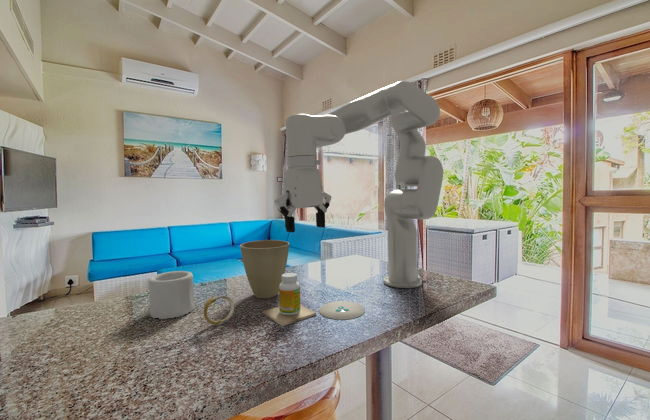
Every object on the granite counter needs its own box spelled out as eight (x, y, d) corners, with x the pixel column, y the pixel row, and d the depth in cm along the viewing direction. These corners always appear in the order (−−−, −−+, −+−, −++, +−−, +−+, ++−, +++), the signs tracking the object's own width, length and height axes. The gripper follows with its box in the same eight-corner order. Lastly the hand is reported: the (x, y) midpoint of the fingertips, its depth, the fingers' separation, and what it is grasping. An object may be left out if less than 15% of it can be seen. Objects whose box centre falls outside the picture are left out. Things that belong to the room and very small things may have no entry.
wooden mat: (295, 304, 86) (294, 302, 86) (316, 314, 78) (316, 312, 78) (262, 313, 80) (262, 311, 80) (282, 326, 72) (282, 323, 72)
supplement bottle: (297, 316, 76) (296, 278, 75) (276, 315, 77) (275, 277, 76) (302, 308, 81) (302, 272, 81) (283, 307, 82) (282, 271, 82)
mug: (201, 310, 83) (199, 274, 82) (158, 324, 75) (156, 284, 74) (181, 299, 92) (179, 267, 91) (141, 310, 84) (138, 274, 84)
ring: (204, 330, 71) (202, 296, 70) (203, 324, 74) (202, 292, 73) (235, 324, 74) (234, 291, 73) (233, 319, 77) (232, 288, 76)
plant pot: (242, 305, 86) (240, 249, 85) (241, 289, 100) (239, 241, 99) (295, 299, 90) (293, 245, 89) (286, 284, 104) (285, 238, 103)
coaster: (343, 298, 89) (343, 298, 89) (374, 310, 80) (374, 309, 80) (310, 309, 82) (310, 308, 82) (339, 323, 72) (339, 322, 72)
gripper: (320, 165, 87) (323, 224, 89) (265, 165, 77) (270, 232, 78) (337, 163, 81) (340, 226, 83) (280, 162, 71) (285, 235, 72)
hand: (306, 229), depth 80 cm, fingers open, 9 cm apart
